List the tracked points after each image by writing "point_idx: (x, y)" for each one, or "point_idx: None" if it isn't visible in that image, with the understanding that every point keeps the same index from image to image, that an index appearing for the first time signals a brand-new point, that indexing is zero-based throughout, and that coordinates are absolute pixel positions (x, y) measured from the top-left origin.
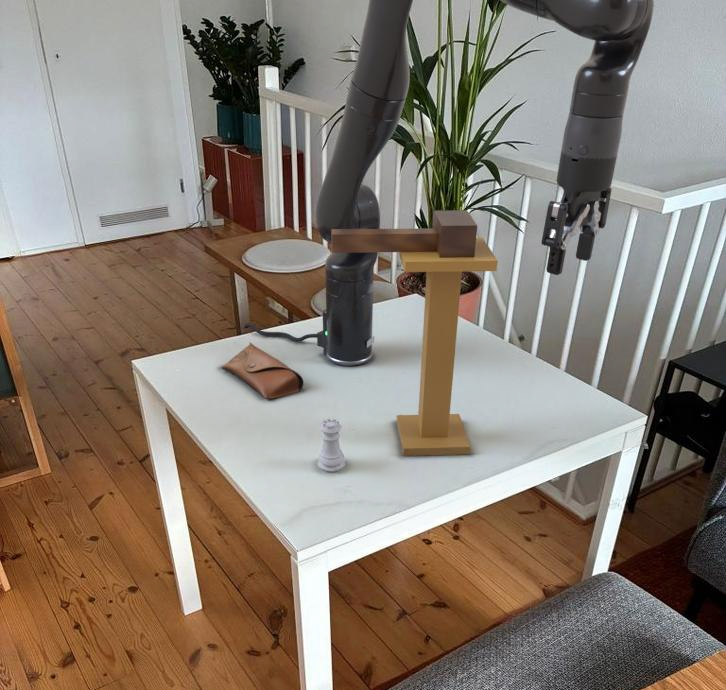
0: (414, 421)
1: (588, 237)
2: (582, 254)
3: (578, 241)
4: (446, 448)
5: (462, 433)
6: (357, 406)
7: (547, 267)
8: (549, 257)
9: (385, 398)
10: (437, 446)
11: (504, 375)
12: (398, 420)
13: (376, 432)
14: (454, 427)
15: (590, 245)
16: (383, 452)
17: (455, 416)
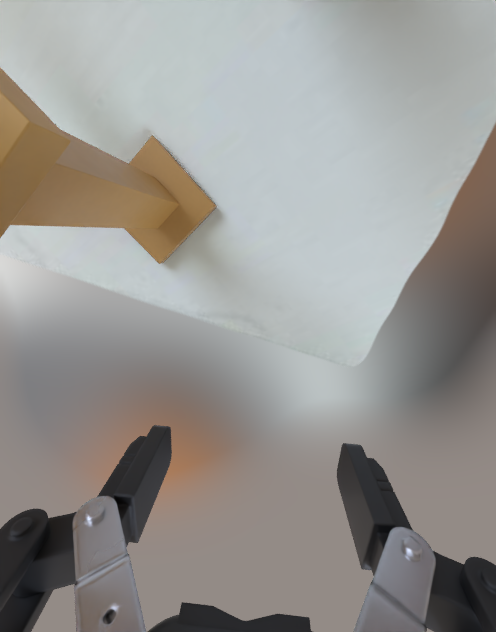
0: (156, 168)
1: (363, 548)
2: (344, 472)
3: (361, 491)
4: (138, 242)
5: (176, 239)
6: (149, 51)
7: (132, 443)
8: (114, 473)
9: (199, 70)
10: (131, 232)
11: (380, 180)
12: (142, 148)
13: (118, 134)
14: (181, 222)
15: (351, 527)
16: None
17: (205, 206)
